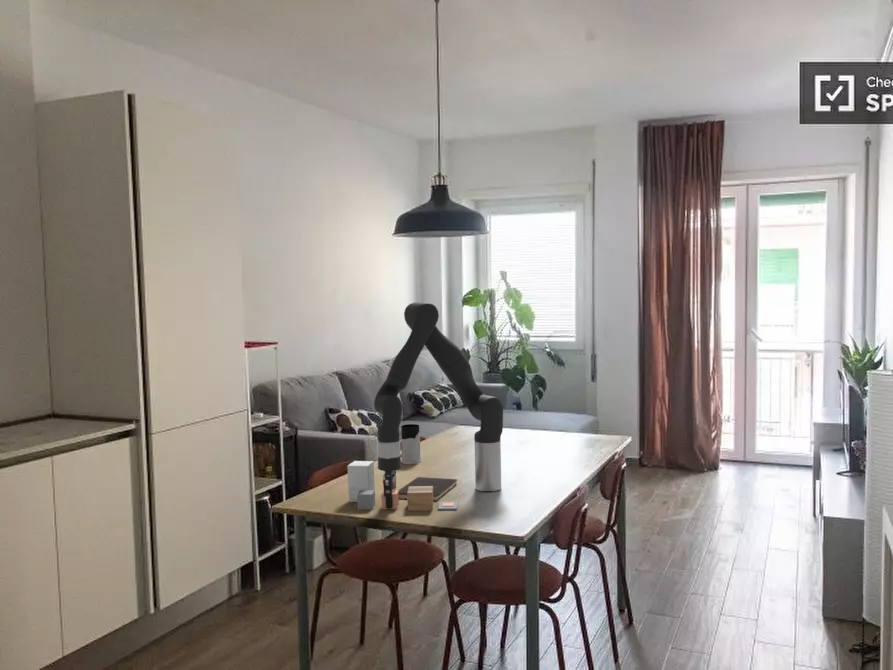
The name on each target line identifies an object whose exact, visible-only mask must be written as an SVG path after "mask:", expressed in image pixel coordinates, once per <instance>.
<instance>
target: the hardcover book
mask: <svg viewBox="0 0 893 670" xmlns="http://www.w3.org/2000/svg"><path fill="white" fill-rule="evenodd" d="M457 481H458V478H457V479H455V478H442V477H441V478H440V477H425V476H424V477H421V476H417V477H415V479H413V480H411V481H410V482H409V483H407V484H405V485H404V486H402V487H401V488H400V489H398V490H399V497H400V498H399V499H404V498H408V497H407V492H408V488H409V486H433V500H437V499H438V498H439V497H440V498H441V496H442V495H443V494H444V493H445V492H446V493H448V492H449V491H450V490H451V489H452V488H453V486H454V485H455V484H456V485H457ZM456 485H455V486H456ZM455 486H454V487H455ZM451 487H452V488H451ZM450 488H451V489H450ZM449 489H450V490H449ZM448 490H449V491H448ZM447 491H448V492H447ZM446 493H445V494H446ZM445 494H444V495H445ZM444 495H443V496H444ZM443 496H442V497H443ZM440 498H439V499H440ZM439 499H438V500H439ZM438 500H437V501H438Z"/></svg>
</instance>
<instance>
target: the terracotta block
mask: <svg viewBox="0 0 893 670" xmlns="http://www.w3.org/2000/svg"><path fill="white" fill-rule="evenodd" d="M399 490H400V489H396V490H393V507H392V508H391V509H390V510H398V508H399V506H400V498H399ZM387 493H390V491H389V490H387ZM398 505H399V506H398ZM381 510H388V509H387V508H386V497H384V489H383V491H382V492H381Z"/></svg>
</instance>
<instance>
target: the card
mask: <svg viewBox="0 0 893 670" xmlns="http://www.w3.org/2000/svg"><path fill="white" fill-rule="evenodd" d="M457 505H459V501H457V500H455V501H450V500H449V501H442V500H441V501H439V504H438V508H437V511H457V510H458V506H457Z"/></svg>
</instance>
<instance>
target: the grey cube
mask: <svg viewBox="0 0 893 670" xmlns="http://www.w3.org/2000/svg"><path fill="white" fill-rule="evenodd" d="M356 503H357V510H374V508H375V506H374V505H376V489H375V490H360V491H359V492H358V494H357V502H356ZM373 507H374V508H373Z"/></svg>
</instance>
